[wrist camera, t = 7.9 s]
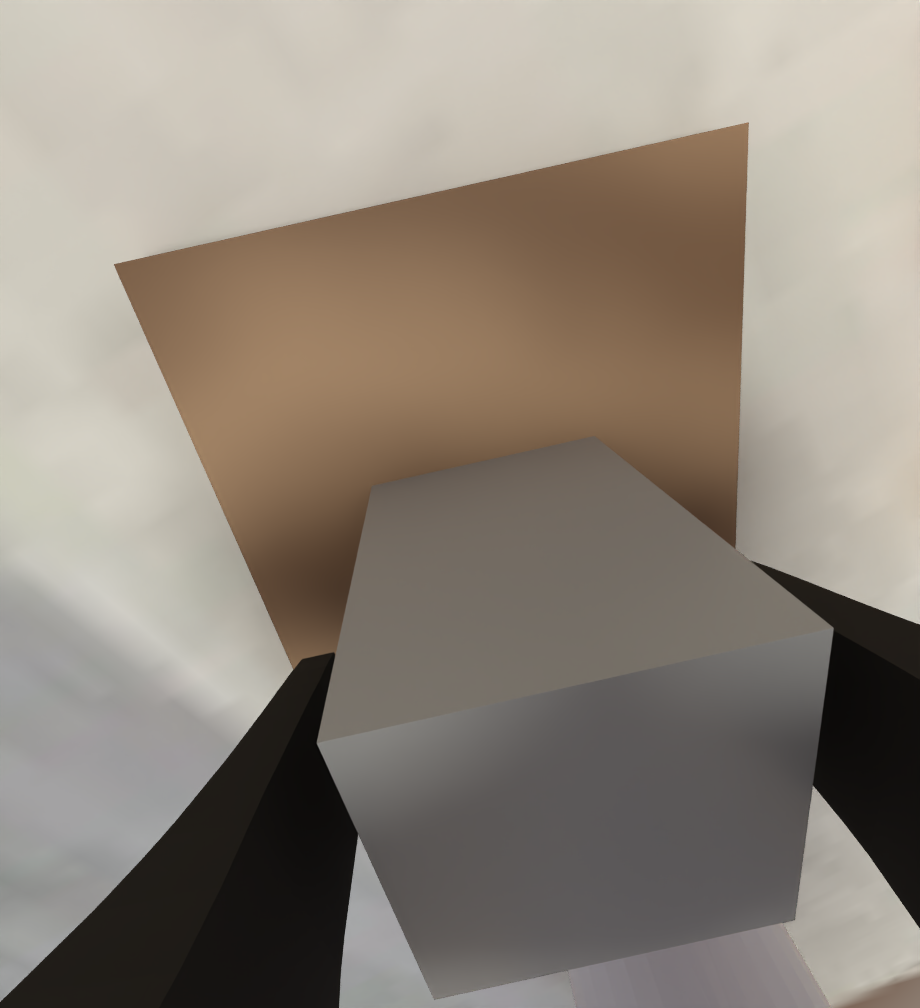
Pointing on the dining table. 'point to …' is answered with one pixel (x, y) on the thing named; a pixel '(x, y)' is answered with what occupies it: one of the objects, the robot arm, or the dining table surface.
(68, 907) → the dining table surface
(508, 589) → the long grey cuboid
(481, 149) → the dining table surface
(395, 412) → the walnut board
